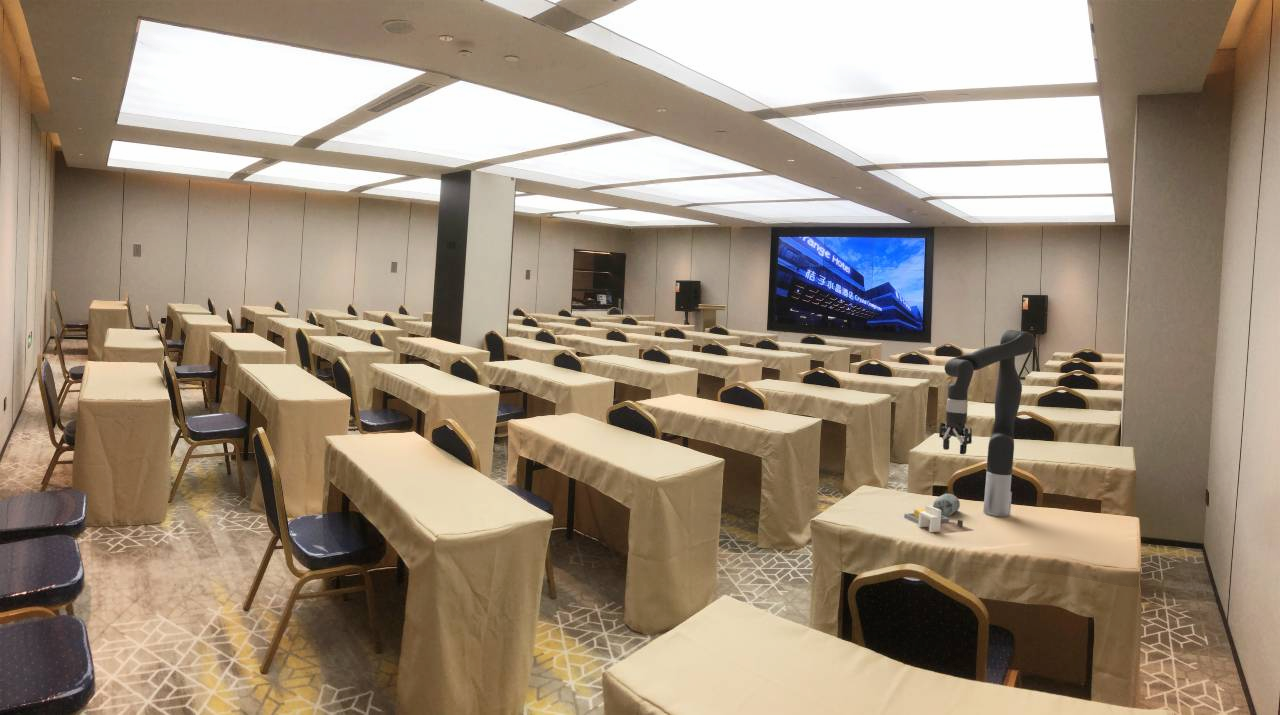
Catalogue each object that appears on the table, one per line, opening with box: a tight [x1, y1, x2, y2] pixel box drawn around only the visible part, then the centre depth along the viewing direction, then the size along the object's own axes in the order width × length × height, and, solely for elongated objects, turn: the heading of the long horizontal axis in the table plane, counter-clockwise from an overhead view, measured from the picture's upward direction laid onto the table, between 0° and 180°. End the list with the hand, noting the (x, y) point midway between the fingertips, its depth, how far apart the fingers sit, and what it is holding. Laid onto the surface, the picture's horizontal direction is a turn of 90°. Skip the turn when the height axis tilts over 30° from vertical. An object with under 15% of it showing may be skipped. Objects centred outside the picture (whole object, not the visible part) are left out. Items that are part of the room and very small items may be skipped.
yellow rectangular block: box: [913, 508, 925, 519], centre depth 282 cm, size 9×4×4 cm, turn 110°
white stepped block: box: [917, 504, 941, 533], centre depth 270 cm, size 4×7×8 cm, turn 20°
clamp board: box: [916, 519, 973, 535], centre depth 273 cm, size 18×10×3 cm, turn 110°
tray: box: [903, 512, 950, 524], centre depth 282 cm, size 14×9×2 cm
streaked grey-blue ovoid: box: [932, 493, 961, 518], centre depth 293 cm, size 14×10×10 cm
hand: (954, 451), depth 282 cm, fingers open, 8 cm apart
